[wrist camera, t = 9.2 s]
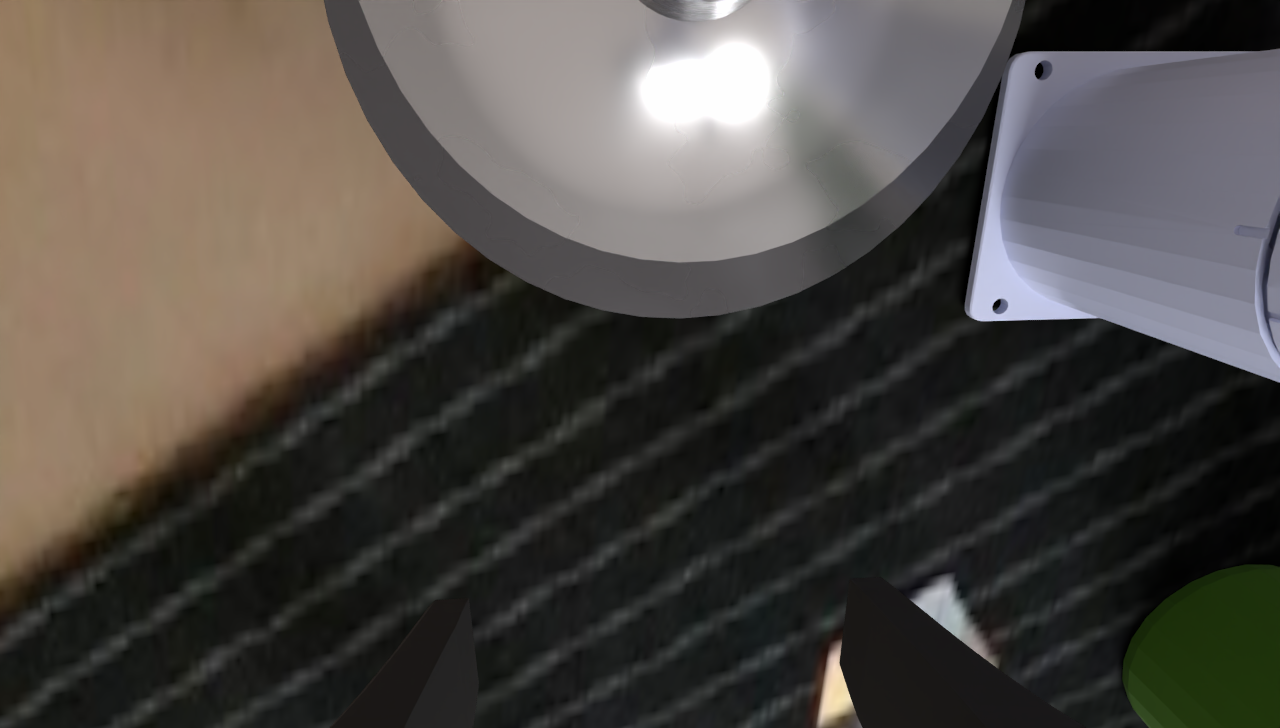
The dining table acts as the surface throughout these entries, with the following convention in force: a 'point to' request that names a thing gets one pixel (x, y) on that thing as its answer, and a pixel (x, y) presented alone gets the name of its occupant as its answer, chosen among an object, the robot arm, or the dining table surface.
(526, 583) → the dining table surface
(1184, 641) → the wine bottle
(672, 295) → the cooking pot
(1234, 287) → the robot arm
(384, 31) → the steel lid
